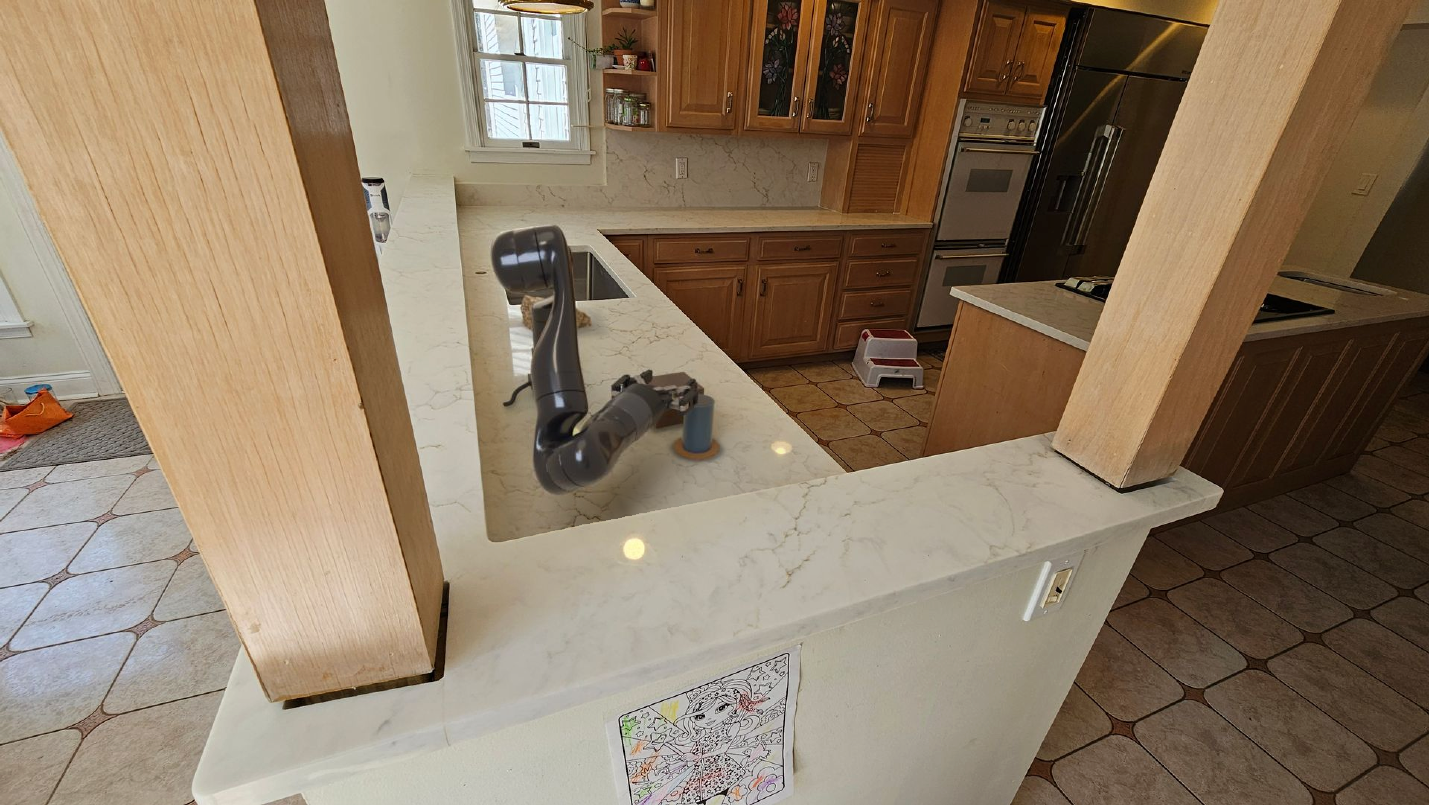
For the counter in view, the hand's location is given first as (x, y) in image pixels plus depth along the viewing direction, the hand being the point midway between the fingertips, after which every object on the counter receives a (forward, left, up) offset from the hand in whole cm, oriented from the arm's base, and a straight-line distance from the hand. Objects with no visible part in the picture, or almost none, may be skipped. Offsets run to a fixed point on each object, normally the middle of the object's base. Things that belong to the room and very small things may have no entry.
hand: (671, 378), depth 110 cm
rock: (+1, +81, -17) cm, 83 cm away
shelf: (+8, +17, -17) cm, 25 cm away
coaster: (+7, +2, -17) cm, 18 cm away
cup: (+7, +2, -16) cm, 18 cm away
